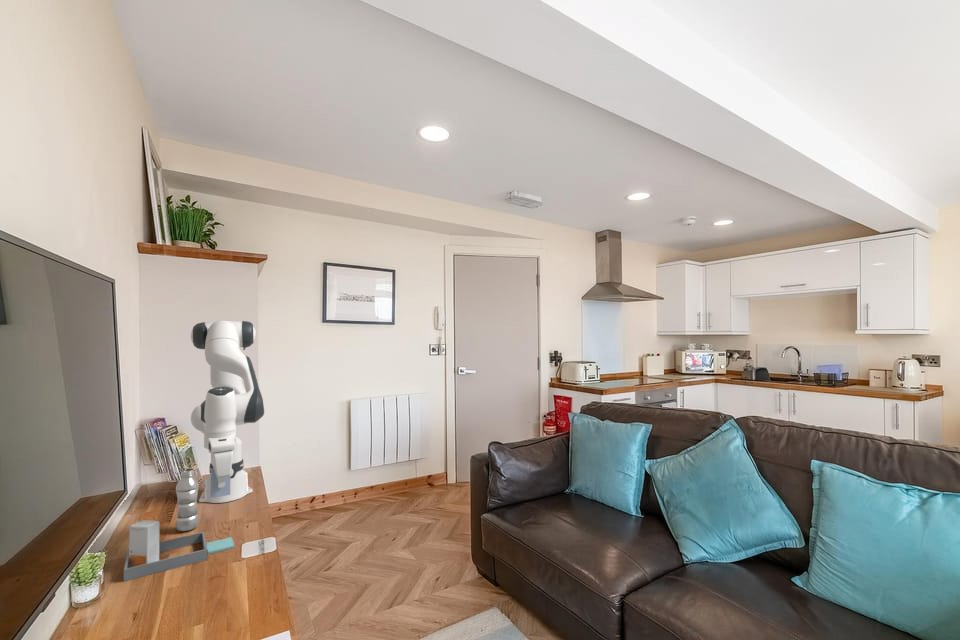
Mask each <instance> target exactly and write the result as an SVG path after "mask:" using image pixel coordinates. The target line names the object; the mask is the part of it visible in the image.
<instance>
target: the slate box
mask: <svg viewBox="0 0 960 640" xmlns="http://www.w3.org/2000/svg"><path fill="white" fill-rule="evenodd" d="M226 495H230V476H228V477H226V478H225V486H224V487H222V488H218V478H217V477H216V474H215V471H214V468H211V498H215V497H221V496H226Z"/></svg>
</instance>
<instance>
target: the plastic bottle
mask: <svg viewBox="0 0 960 640" xmlns="http://www.w3.org/2000/svg"><path fill="white" fill-rule="evenodd" d="M194 475H195V468H185V469H181V472H180V479H179V480H178V482H177V484H176V486H175V494H176V497H177V515H176V519H175V529H176V530H177V531H178V532H187V531H191V530H194V529H196V528H197V526H198V525H199V524H200V523H199V522H200V516H199V513H198V492H199V485H200V484H199V481H198V479H197V478H196V476H194Z"/></svg>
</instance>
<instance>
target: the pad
mask: <svg viewBox="0 0 960 640" xmlns="http://www.w3.org/2000/svg"><path fill="white" fill-rule="evenodd" d="M206 545H207V555H211V554H215V553H219V552H223V551H227V550H230V549H234V548H235V543H234V540H233V537H232V536H229V537H226V538H222V539H217V540H214V541H210V542H209V541H208V542H206Z"/></svg>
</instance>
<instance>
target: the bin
mask: <svg viewBox="0 0 960 640" xmlns="http://www.w3.org/2000/svg"><path fill="white" fill-rule="evenodd" d="M206 543H207V539H206V534H205V531H200V532H196V533H192V534H188V535H187V534H186V535H183V536H179V537H174V538H171V539H165V540H161V541H160V540H159V553H162V552H168V551H171V550H175V549H179V548H183V547H188V546H191V545H197V544H201V545H202V549H201V550H195V551H192V552H189V553H184V554H180V555H176V556H173V557H167V558H163V559H159V561H155V562H151V563H147V564H143V565H139V566H135V567H131V568H129V548H127V552H126V556H125V562H124V568H123V582H126V581H130V580H134V579H138V578H142V577H146V576H151V575H154V574H158V573H162V572H165V571H171V570H173V569H177V568H180V567H184V566H189V565H192V564H196V563H200V562H203V561H208V551H207V545H206Z"/></svg>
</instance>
